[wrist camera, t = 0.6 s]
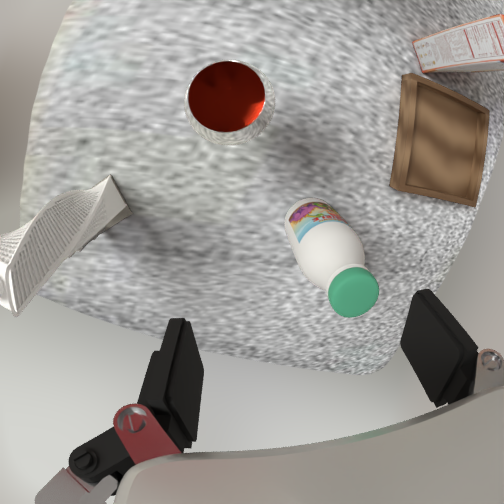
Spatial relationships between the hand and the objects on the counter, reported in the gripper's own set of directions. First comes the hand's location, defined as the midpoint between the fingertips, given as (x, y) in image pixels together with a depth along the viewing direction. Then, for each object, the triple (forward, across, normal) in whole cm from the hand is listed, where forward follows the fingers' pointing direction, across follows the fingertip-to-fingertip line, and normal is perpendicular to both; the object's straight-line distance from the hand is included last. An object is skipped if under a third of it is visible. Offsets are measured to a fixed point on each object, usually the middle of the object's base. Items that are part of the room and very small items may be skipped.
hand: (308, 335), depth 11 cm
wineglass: (+31, +3, -10) cm, 33 cm away
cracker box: (+31, -33, -21) cm, 50 cm away
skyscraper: (+31, +24, 0) cm, 39 cm away
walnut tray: (+31, -30, -6) cm, 43 cm away
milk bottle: (+31, -7, +7) cm, 32 cm away
